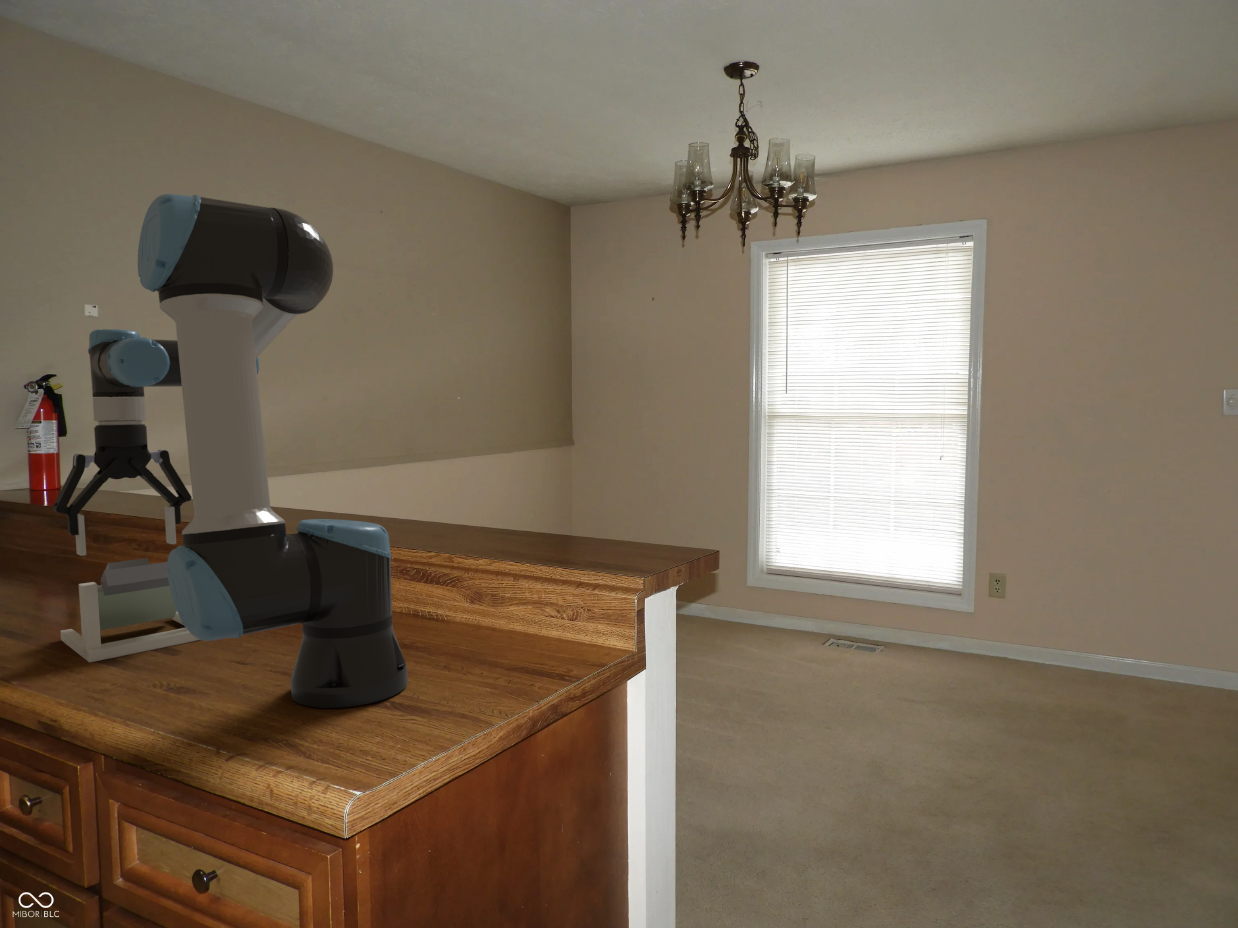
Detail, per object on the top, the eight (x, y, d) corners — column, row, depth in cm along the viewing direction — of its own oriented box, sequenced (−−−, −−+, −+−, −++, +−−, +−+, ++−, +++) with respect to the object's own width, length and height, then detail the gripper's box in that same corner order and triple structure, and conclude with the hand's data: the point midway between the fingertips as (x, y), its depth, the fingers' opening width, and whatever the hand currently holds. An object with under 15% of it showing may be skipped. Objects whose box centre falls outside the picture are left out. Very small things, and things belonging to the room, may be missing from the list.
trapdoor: (201, 572, 136) (196, 557, 137) (104, 586, 126) (100, 571, 127) (175, 623, 147) (171, 609, 148) (84, 640, 137) (80, 625, 138)
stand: (218, 635, 139) (214, 568, 138) (89, 662, 126) (84, 587, 125) (182, 617, 151) (178, 555, 150) (61, 640, 138) (56, 571, 137)
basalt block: (157, 593, 140) (147, 558, 143) (117, 599, 136) (107, 563, 138) (149, 610, 143) (139, 575, 146) (110, 616, 139) (101, 581, 142)
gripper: (191, 420, 150) (198, 536, 151) (25, 425, 132) (34, 556, 134) (207, 421, 145) (213, 541, 146) (36, 426, 127) (45, 562, 128)
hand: (128, 548), depth 140 cm, fingers open, 13 cm apart
